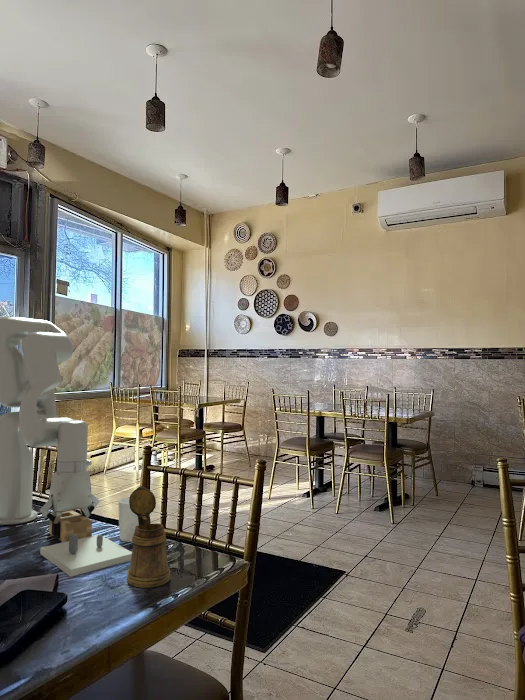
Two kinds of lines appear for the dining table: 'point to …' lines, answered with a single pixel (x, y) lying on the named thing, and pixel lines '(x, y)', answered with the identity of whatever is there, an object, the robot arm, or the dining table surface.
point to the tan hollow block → (73, 526)
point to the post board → (85, 554)
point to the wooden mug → (147, 544)
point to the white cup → (126, 520)
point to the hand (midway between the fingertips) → (69, 533)
